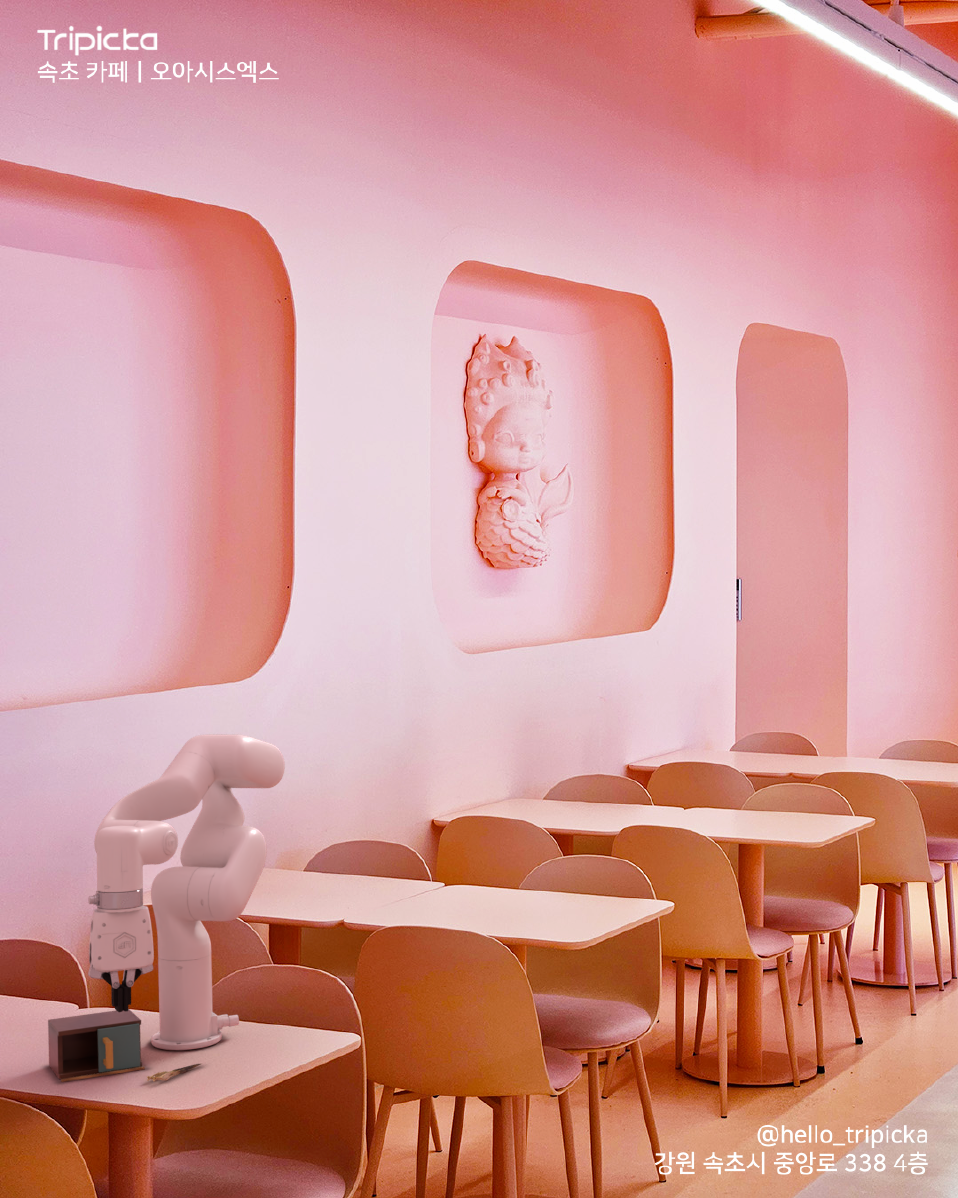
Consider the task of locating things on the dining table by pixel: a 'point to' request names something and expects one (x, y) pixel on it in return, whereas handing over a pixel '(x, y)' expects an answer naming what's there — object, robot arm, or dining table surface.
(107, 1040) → the door
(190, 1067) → the tan slender tapered piece
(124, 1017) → the cupboard
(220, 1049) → the dining table surface
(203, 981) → the robot arm
